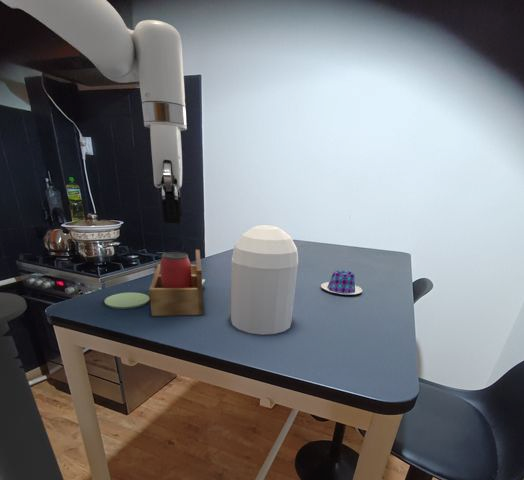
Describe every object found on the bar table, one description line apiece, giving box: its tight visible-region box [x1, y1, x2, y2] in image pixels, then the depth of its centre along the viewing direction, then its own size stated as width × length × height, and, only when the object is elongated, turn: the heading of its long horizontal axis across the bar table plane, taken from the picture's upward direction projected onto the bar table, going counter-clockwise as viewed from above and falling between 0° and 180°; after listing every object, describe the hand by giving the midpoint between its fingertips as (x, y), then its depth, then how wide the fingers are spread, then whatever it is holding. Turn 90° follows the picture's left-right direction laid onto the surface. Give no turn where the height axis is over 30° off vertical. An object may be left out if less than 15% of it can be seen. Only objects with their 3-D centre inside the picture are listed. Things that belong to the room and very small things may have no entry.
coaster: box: [104, 292, 150, 310], centre depth 76 cm, size 10×10×1 cm
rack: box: [148, 249, 204, 317], centre depth 77 cm, size 11×21×10 cm, turn 11°
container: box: [230, 224, 299, 336], centre depth 65 cm, size 14×13×20 cm
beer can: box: [160, 251, 192, 288], centre depth 72 cm, size 7×7×12 cm
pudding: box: [320, 269, 364, 296], centre depth 92 cm, size 12×12×5 cm
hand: (173, 219), depth 66 cm, fingers open, 9 cm apart
